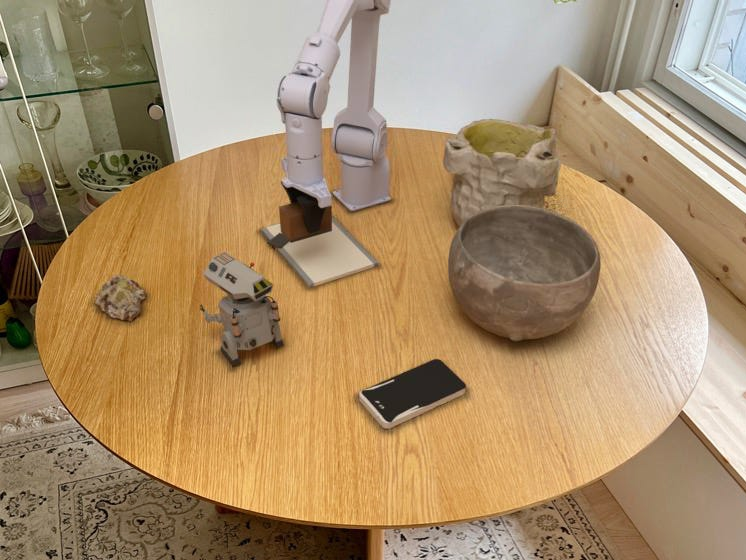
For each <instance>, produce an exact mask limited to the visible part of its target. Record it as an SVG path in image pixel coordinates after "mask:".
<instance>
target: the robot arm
mask: <svg viewBox="0 0 746 560" xmlns="http://www.w3.org/2000/svg"><path fill="white" fill-rule="evenodd" d="M390 8H391V0H326V2H325V5H324V8H323V11H322V15H321V18H320V21H319V24H318V27H317V30H316V32H314V33H311V34H309V35H308V36H307V37H306V38H305V41H304V43H303V45H302V47H301V49H300V52H299V54H298V56H297V59H296V61H295V63H294V65H293V68H292V70H291V72H289V73H287V74H286V75H282V77H281V78H280V79H279V82H278V86H277V93H276V99H275V100H276V106H277V108H278V111H279V112H280V118H281V119H280V120H281V122H282V124H283V125H285V126H284V127H285V144H286V157H282V158H281V159H280V160H281V161H280V162H281V169H282V170H283V172H285V177H284V178H282V179H281V181H280V184H281V186H282V187H283V190H284V191H285V192H286V195H287V197H288V199H289V202H290V204H291V203H294V202H299V204H300V206H301V208H302V211H303V214H304V219H305V225H306V229H307V231H308V232H309V233H312V232H316V231H319V230H320V227H321V223H322V219H323V216H324V213H325V210H326V208H327V207H328V206H332V205H333V197H335V198H336V199H337V200H338V201H339V202H340V203H342V205H343V206H344V207H345V208H346V209H347V210H349V211H350V212H355V211H358V210H362V209H366V208H368V207H369V208H370V207H372V206H376V205H379V204H383V203H386V202H390V201H391V200H392V198H391V196H390V186H391V185H390V184H391V183H390V181H391V166H390V162H389V159H388V157H387V155H386V152H387V147H388V141H389V140H388V130H387V129H388V124H387V118H385V117H384V116H383V115H382V114H381V113H380V112H379V111H378V110H377V109H376V108H375V107H374V105H375V104H374V103H375V102H374V101H375V89H376V88H375V87H376V77H377V75H376V74H377V61H378V48H379V47H378V46H379V33H380V32H379V31H380V22H381V16H383V15H386V14H389V12H390ZM350 22H351V26H350V28H351V29H350V45H349V64H348V65H349V66H348V83H347V85H348V86H347V104H346V105H347V106H346V107H345V108H343V109H342V110H340V111H339V112H338V113H336V115H335V117H334V119H333V128H332V131H331V134H330V135H331V136H330V145H331V149H332V151H333V153H334V154H337V160H340V189H337V190H334V191H332V194H331V192H330V191H329V189H328V188H329V187H328V185H327V181H326V177H325V175H324V162H323V161H324V160H323V156H324V155H323V154H324V153H323V115H324V114H325V111H326V109H327V105H328V100H329V94H330V89H331V85H330V80H331V78H332V76H333V73H334V71H335V69H336V67H337V64H338V62H339V60H340V57H341V50H340V49H341V48H340V47H339V45H338V44H339V42H340V40H341V38H342V36H343V35H344V33H345V31H346V29H347V27H348V25H349V23H350Z"/></svg>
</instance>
